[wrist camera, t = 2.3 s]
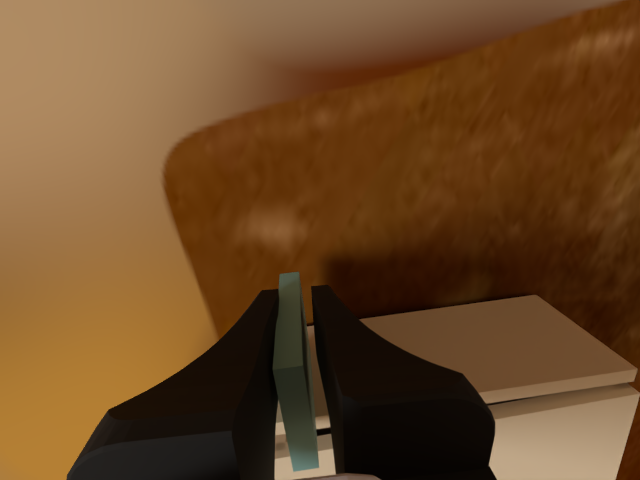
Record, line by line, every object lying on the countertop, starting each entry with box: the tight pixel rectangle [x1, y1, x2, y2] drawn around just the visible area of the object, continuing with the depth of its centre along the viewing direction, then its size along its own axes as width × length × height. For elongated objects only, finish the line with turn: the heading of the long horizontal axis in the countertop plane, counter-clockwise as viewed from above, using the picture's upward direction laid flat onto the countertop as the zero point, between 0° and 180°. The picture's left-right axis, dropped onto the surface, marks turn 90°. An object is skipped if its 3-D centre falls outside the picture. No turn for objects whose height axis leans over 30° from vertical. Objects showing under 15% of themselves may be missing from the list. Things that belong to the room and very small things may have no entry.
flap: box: [273, 272, 638, 472], centre depth 13 cm, size 14×5×7 cm, turn 96°
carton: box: [275, 383, 640, 480], centre depth 17 cm, size 14×12×6 cm
